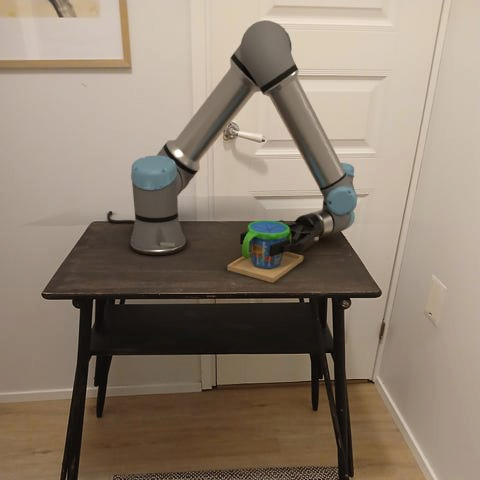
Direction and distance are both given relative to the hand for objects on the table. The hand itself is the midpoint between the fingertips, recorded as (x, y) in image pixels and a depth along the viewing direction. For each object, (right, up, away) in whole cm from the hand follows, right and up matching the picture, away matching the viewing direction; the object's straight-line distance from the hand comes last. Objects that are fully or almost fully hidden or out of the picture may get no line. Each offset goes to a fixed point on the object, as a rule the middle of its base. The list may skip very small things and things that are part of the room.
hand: (255, 245), depth 121 cm
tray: (+3, -4, +6) cm, 8 cm away
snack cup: (+3, -4, +6) cm, 8 cm away
